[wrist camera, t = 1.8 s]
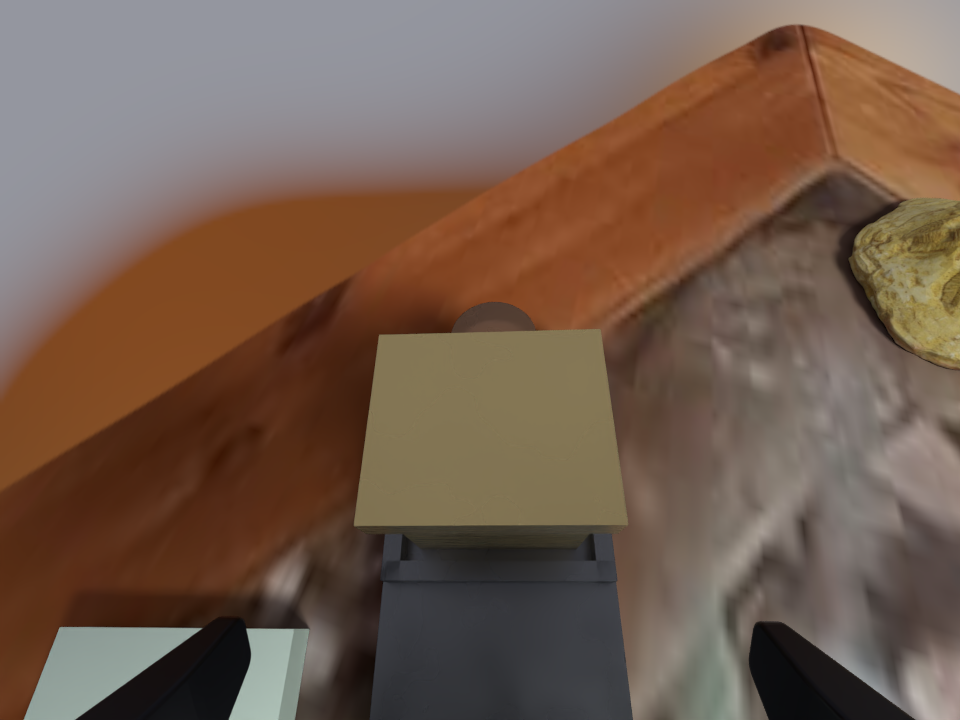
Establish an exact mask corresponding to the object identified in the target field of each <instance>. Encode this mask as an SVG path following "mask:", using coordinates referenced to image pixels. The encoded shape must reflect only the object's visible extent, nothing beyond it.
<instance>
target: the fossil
mask: <svg viewBox="0 0 960 720" xmlns="http://www.w3.org/2000/svg"><path fill="white" fill-rule="evenodd" d="M848 259H849V262H850V265H851V269H852V271H853V273H854V276H855V278H856V280H857V281H858V282H859V283H860V284H861V285H862V286H863V287H864V290H865V293H866V295H867V298H868V299H869V300H870V302H871V303H872V307H873V308H874V309H875V310H876V312H877V315H878V317H879V318H880V320H881V321H882V322H883V323H884V324H885V326H886V329H887V331H888V333H889V334H890V335H891V336H892V338H893V339H894V341H895V343H897V344H898V345H900V346H901V347H902V348H904V349H905V350H907V351H909V352H911V353H913V354H915V355H917V356H919V357H921V358H922V359H925V360H927V361H930V362H932V363H934V364H935V365H937V366H941V367H944V368H948V369H954V370H960V201H955V200H948V199H941V198H916V199H911V200H908V201H904V202H902V203H900V204H899V205H898V208H896V209H895V210H894V211H892V212H890V213H888V214H887V215H885V216H882V217H881V218H880V219H878V220H877V221H876V222H874V223H871V224H868V225H867V226H866V227H864V228H863V229H862V230H861V231H860V232H859V233H858V234H857V235H856V238H855V240H854V246H853V253H852V256H851V257H849V258H848Z"/></svg>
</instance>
